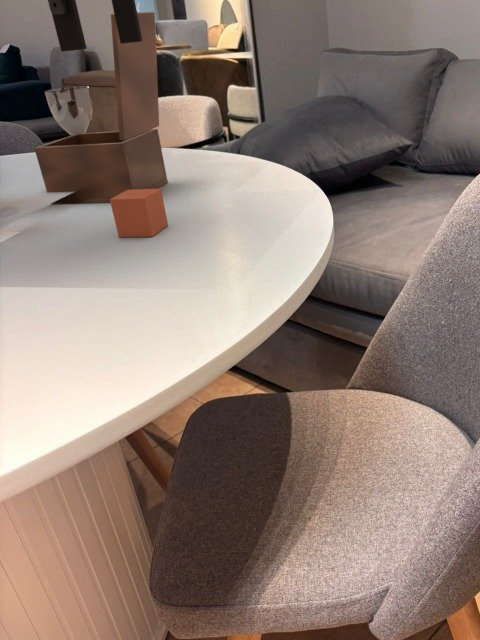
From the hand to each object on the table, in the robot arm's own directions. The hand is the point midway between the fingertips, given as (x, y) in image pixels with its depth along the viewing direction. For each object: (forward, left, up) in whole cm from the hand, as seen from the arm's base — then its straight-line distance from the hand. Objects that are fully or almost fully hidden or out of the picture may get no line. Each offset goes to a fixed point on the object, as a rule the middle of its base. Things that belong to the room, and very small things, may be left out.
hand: (105, 46), depth 75 cm
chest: (-17, +22, -22) cm, 36 cm away
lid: (-8, +22, -5) cm, 24 cm away
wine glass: (-32, +40, -22) cm, 56 cm away
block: (0, 0, -22) cm, 22 cm away
